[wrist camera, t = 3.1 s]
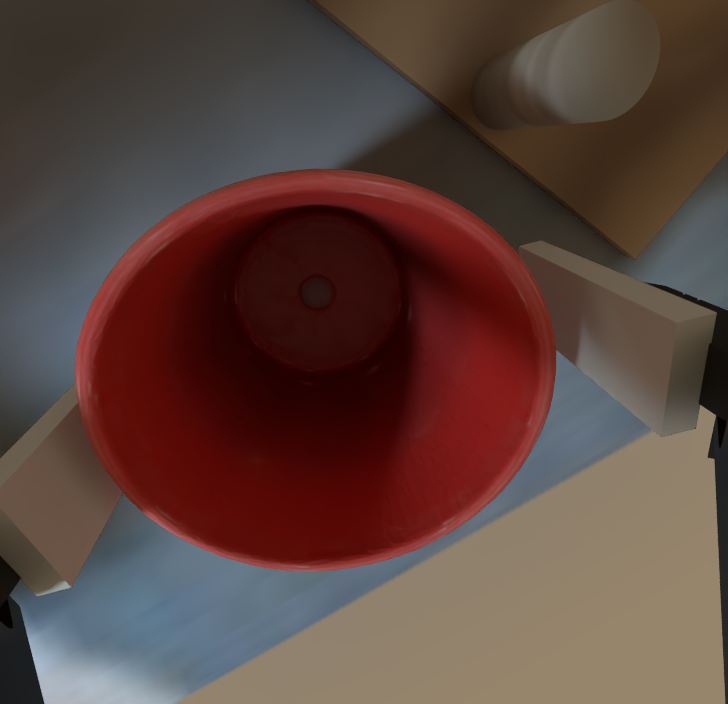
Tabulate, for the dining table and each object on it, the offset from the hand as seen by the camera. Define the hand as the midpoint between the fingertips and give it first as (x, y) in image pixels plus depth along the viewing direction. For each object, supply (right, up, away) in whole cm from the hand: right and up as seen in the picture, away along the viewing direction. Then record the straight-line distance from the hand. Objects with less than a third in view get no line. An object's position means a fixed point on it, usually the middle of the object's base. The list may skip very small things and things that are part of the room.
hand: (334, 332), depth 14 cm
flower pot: (-1, +2, +4) cm, 5 cm away
